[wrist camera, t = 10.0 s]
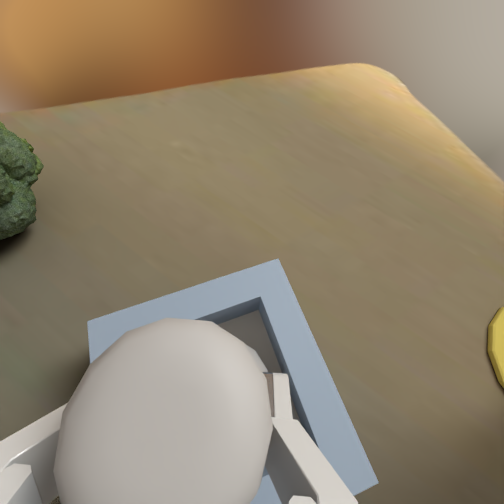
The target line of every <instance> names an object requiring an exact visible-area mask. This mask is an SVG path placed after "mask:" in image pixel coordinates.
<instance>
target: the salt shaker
mask: <svg viewBox="0 0 504 504" xmlns="http://www.w3.org/2000/svg"><path fill="white" fill-rule="evenodd" d="M263 372H268V370H267V368H266V367H265V365H264V364H263V362H262V360H261V359H260V357H259V356H258V354H257V353H256V351H255V350H254V349H252V348H251V347H249V346H248V345H246V344H245V343H244V342H242V341H241V340H239V339H238V338H236V337H235V336H233V335H232V334H230V333H229V332H227V331H226V330H224V329H223V328H221V327H219V326H218V325H216V324H215V323H213V322H212V321H203V320H190V319H178V318H164V319H161V320H158V321H156V322H153V323H150V324H147V325H144V326H141V327H138V328H135V329H133V330H130V331H127V332H125V333H124V334H123V335H122V336H121V337H120V338H119V339H118V340H116V341H115V342H114V343H113V344H112V345H111V346H110V347H109V348H108V349H106V350H105V351H104V352H103V353H102V354H101V355H100V356H99V357H98V358H96V359H95V360H94V361H93V362H92V363H91V364H90V365H89V367H88V369H87V370H86V372H85V374H84V376H83V377H82V379H81V381H80V383H79V384H78V386H77V388H76V390H75V391H74V393H73V395H72V397H71V398H70V400H69V402H68V404H67V405H66V407H65V409H64V411H63V412H62V419H61V425H60V431H59V438H58V444H57V450H56V457H55V463H54V469H53V473H54V477H55V481H56V486H57V490H58V494H59V499H60V503H61V504H250V503H251V501H252V500H253V499H254V497H255V496H256V494H257V492H258V489H259V487H260V484H261V480H262V475H263V471H264V466H265V462H266V457H267V453H268V448H269V444H270V440H271V435H272V431H273V424H272V417H271V409H270V402H269V394H268V387H267V380H266V377H265V375H264V374H263Z"/></svg>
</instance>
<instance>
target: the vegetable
mask: <svg viewBox="0 0 504 504" xmlns="http://www.w3.org/2000/svg"><path fill="white" fill-rule="evenodd" d="M33 150H34V148H33V147H32V146H31V145H30V144H28V143H27V141H26V139H21V138H19V137H17V136H16V134H14V133H12V132H10V131H9V130H7V129H6V128H5V126H4V124H3V123H1V122H0V240H1V239H4V238H8V237H11V236H13V235H15V234H18V233H20V232H23V231H24V229H25V228H26V227H27V226H29V225H30V224H32V223H34V222H35V220H36V217H35V213H36V208H35V204H36V199H35V196H34V194H33V192H32V190H31V189H30V187H31V185H32V184H33V183H35V182H36V181H37V180H38V177H37V175H38V174H40V172H41V170H42V168H43V167H44V166H43V164H42V163H41V161H40V160H39V158H38V157H37V156H36V155H35V154H33V153H32V152H33Z"/></svg>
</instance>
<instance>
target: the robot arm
mask: <svg viewBox="0 0 504 504" xmlns="http://www.w3.org/2000/svg"><path fill="white" fill-rule="evenodd" d="M263 374H264V375H265V377H266V380H267V387H268V394H269V402H270V409H271V417H272V424H273V431H272V435H271V440H270V444H269V448H268V453H267V457H266V462H265V467H266V469H267V472H268V474H269V476H270V478H271V481H272V483H273V485H274V487H275V490H276V492H277V494H278V496H279V499H280V501H281V503H282V504H358V502H357V500H356V499H355V497H354V496H353V495H352V493H351V492H350V491H349V489H348V488H347V486H346V485H345V484H344V482H343V481H342V480H341V478H340V477H339V476H338V474H337V473H336V471H335V470H334V469H333V467H332V466H331V465H330V463H329V462H328V461H327V459H326V458H325V456H324V455H323V454H322V452H321V451H320V450H319V448H318V447H317V446H316V444H315V443H314V441H313V440H312V439H311V437H310V436H309V435H308V433H307V432H306V431H305V429H304V428H303V426H302V425H301V424H300V422H299V421H298V420H295V419H293V416H292V406H291V397H290V387H289V378H288V375H287V374H283V373H270V372H263ZM67 404H68V403H66V404H65V405H63V406H61V407H60V408H58V409H56V410H54V411H53V412H51V413H49V414H47V415H46V416H44V417H42V418H40V419H39V420H37V421H35V422H33V423H32V424H30V425H28V426H26V427H25V428H23V429H21V430H20V431H18V432H16V433H14V434H13V435H11V436H9V437H7V438H6V439H4V440H2V441H0V504H50V503H51V502H52V501H53V500H54V499H55V498H56V497H57V496H58V495H59V494H58V490H57V486H56V481H55V477H54V473H53V469H54V463H55V457H56V450H57V444H58V438H59V431H60V425H61V419H62V412H63V411H64V409H65V407H66V405H67Z"/></svg>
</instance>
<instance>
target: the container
mask: <svg viewBox="0 0 504 504" xmlns="http://www.w3.org/2000/svg"><path fill="white" fill-rule="evenodd" d="M164 318H178V319H190V320H203V321H212V322H213V323H215V324H216V325H218V326H219V327H221V328H223V329H224V330H226V331H227V332H229V333H230V334H232V335H233V336H235V337H236V338H238V339H239V340H241V341H242V342H244V343H245V344H246V345H248V346H249V347H251V348H252V349H254V350H255V351H256V353H257V354H258V356H259V357H260V359H261V360H262V362H263V364H264V365H265V367H266V368H267V370H268V372H270V373H283V374H287V375H288V378H289V387H290V397H291V406H292V416H293V419H295V420H298V421H299V422H300V424H301V425H302V426H303V428H304V429H305V431H306V432H307V433H308V435H309V436H310V437H311V439H312V440H313V441H314V443H315V444H316V446H317V447H318V448H319V450H320V451H321V452H322V454H323V455H324V456H325V458H326V459H327V461H328V462H329V463H330V465H331V466H332V467H333V469H334V470H335V471H336V473H337V474H338V476H339V477H340V478H341V480H342V481H343V482H344V484H345V485H346V486H347V488H348V489H349V491H350V492H351V493H352V495H353V496H354V495H356V494H358V493H360V492H362V491H364V490H366V489H368V488H370V487H372V486H374V485H375V484H377V483H379V482H378V480H377V478H376V476H375V473H374V471H373V469H372V467H371V464H370V462H369V460H368V458H367V456H366V453H365V451H364V449H363V447H362V444H361V442H360V440H359V438H358V435H357V433H356V431H355V429H354V426H353V424H352V422H351V420H350V418H349V415H348V413H347V411H346V409H345V406H344V404H343V402H342V400H341V397H340V395H339V393H338V391H337V389H336V386H335V384H334V382H333V380H332V377H331V375H330V373H329V371H328V368H327V366H326V364H325V362H324V359H323V357H322V355H321V353H320V351H319V348H318V346H317V344H316V342H315V339H314V337H313V335H312V333H311V330H310V328H309V326H308V324H307V322H306V319H305V317H304V315H303V313H302V310H301V308H300V306H299V304H298V301H297V299H296V297H295V295H294V292H293V290H292V288H291V286H290V284H289V281H288V279H287V277H286V275H285V272H284V270H283V268H282V266H281V263H280V261H279V259H275V260H272V261H269V262H266V263H263V264H260V265H257V266H254V267H251V268H248V269H245V270H241V271H238V272H235V273H232V274H229V275H226V276H223V277H220V278H217V279H214V280H211V281H208V282H205V283H202V284H199V285H196V286H193V287H190V288H187V289H184V290H181V291H178V292H175V293H172V294H169V295H166V296H163V297H160V298H157V299H154V300H150V301H147V302H144V303H141V304H138V305H135V306H132V307H129V308H126V309H123V310H120V311H117V312H114V313H111V314H108V315H105V316H102V317H99V318H96V319H93V320H90V321H87V322H88V337H89V352H90V364H91V363H92V362H93V361H94V360H95V359H96V358H98V357H99V356H100V355H101V354H102V353H103V352H104V351H105V350H106V349H108V348H109V347H110V346H111V345H112V344H113V343H114V342H115V341H116V340H118V339H119V338H120V337H121V336H122V335H123V334H124V333H125V332H127V331H130V330H133V329H135V328H138V327H141V326H144V325H147V324H150V323H153V322H156V321H158V320H161V319H164ZM250 504H282V503H281V501H280V499H279V496H278V494H277V492H276V490H275V487H274V485H273V483H272V481H271V478H270V476H269V474H268V472H267V469H266V467H265V466H264V471H263V475H262V480H261V484H260V487H259V489H258V492H257V494H256V496H255V497H254V499H253V500H252V501H251V503H250Z"/></svg>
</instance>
